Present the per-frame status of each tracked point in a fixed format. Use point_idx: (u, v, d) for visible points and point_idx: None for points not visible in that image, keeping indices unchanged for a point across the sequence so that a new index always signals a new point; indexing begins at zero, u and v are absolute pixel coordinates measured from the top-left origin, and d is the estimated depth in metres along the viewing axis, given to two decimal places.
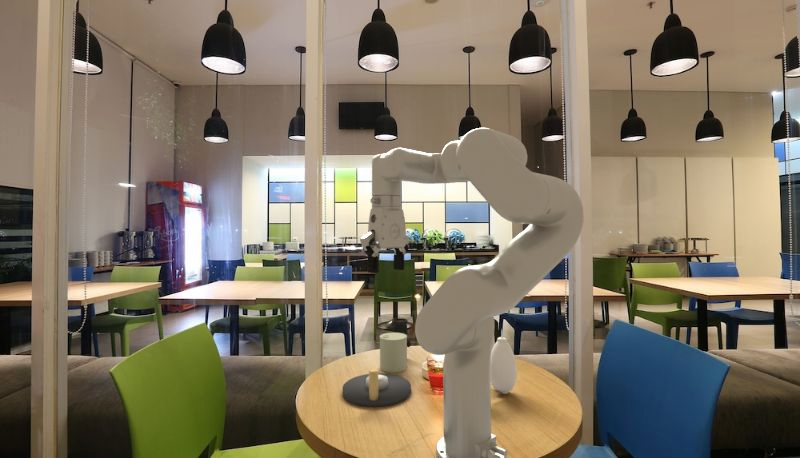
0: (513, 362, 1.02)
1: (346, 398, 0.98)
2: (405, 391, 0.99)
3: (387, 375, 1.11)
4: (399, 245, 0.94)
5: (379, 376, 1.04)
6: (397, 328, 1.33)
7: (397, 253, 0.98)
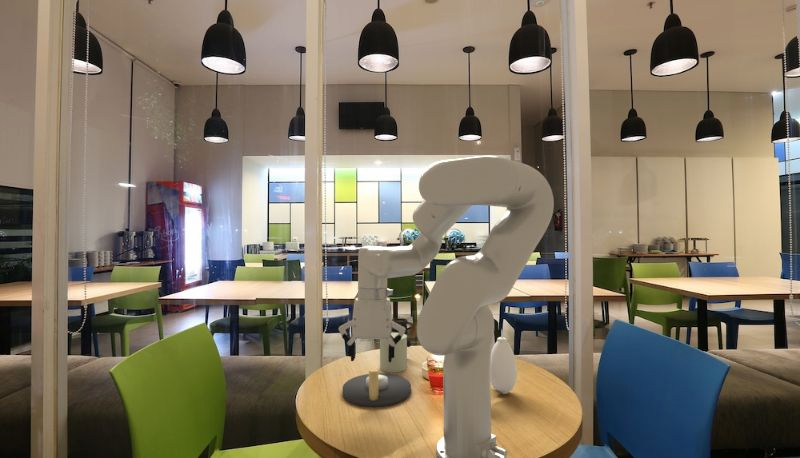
0: (513, 362, 1.02)
1: (346, 398, 0.98)
2: (405, 391, 0.99)
3: (387, 375, 1.11)
4: None
5: (379, 376, 1.04)
6: None
7: (353, 343, 0.96)
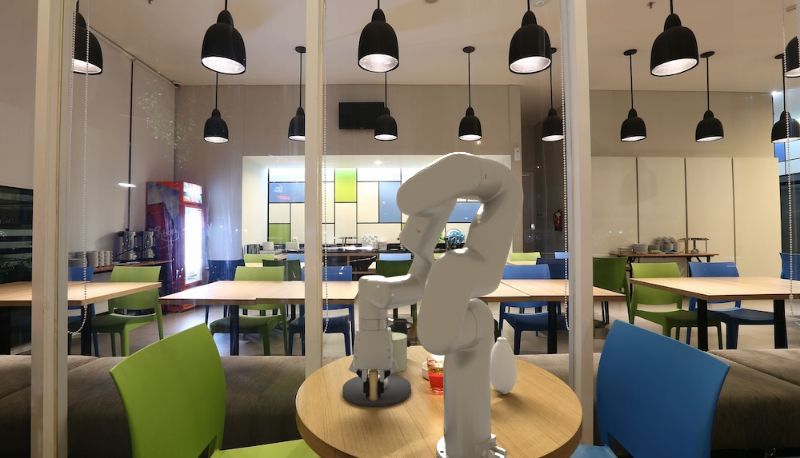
0: (513, 362, 1.02)
1: (346, 398, 0.98)
2: (405, 391, 0.99)
3: None
4: None
5: None
6: (397, 328, 1.33)
7: (368, 379, 0.95)
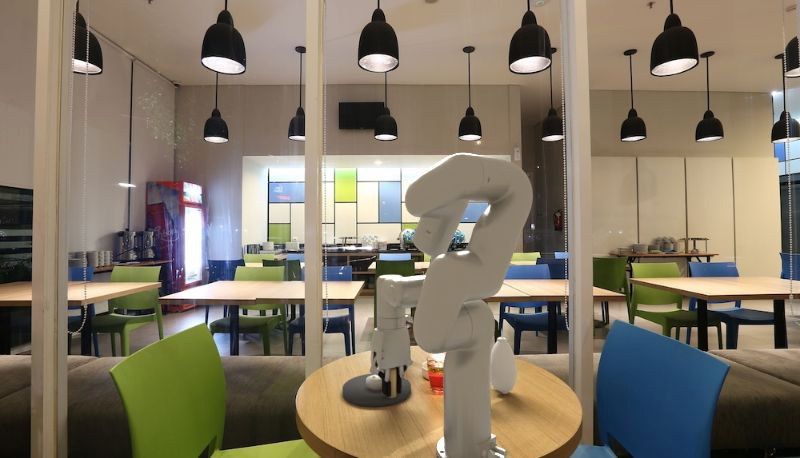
0: (513, 362, 1.02)
1: (362, 404, 0.94)
2: (408, 383, 1.04)
3: (371, 375, 1.11)
4: None
5: (378, 376, 1.04)
6: None
7: None
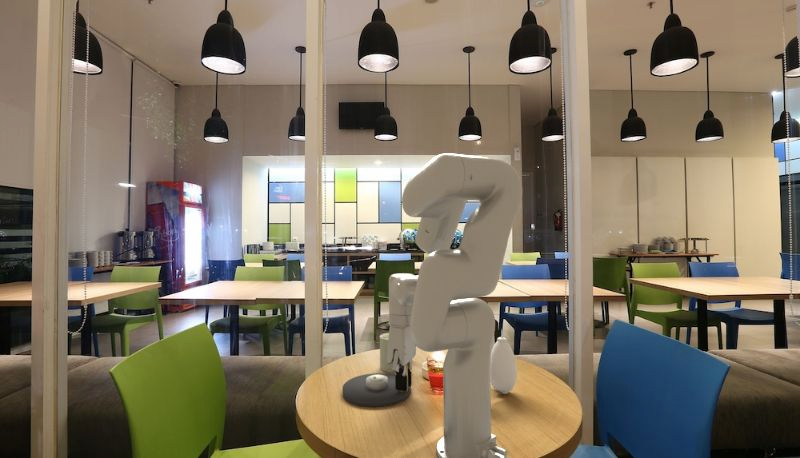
0: (513, 362, 1.02)
1: (384, 404, 0.94)
2: None
3: (356, 378, 1.08)
4: None
5: (376, 376, 1.04)
6: None
7: None
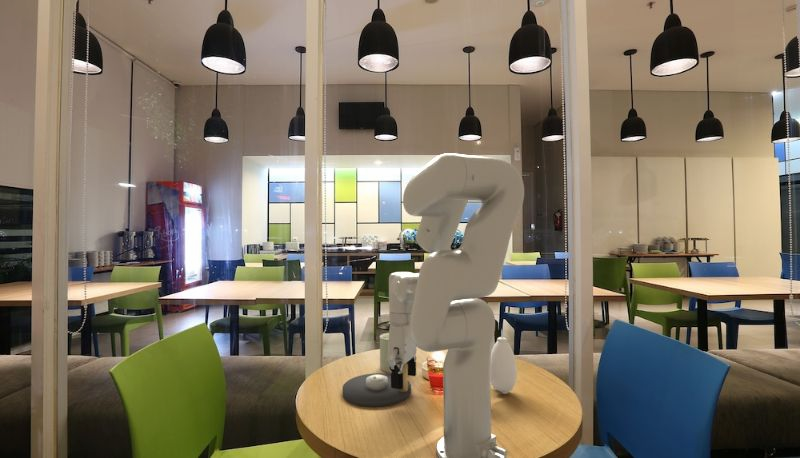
0: (513, 362, 1.02)
1: (384, 404, 0.94)
2: None
3: (356, 378, 1.08)
4: None
5: (376, 376, 1.04)
6: None
7: None
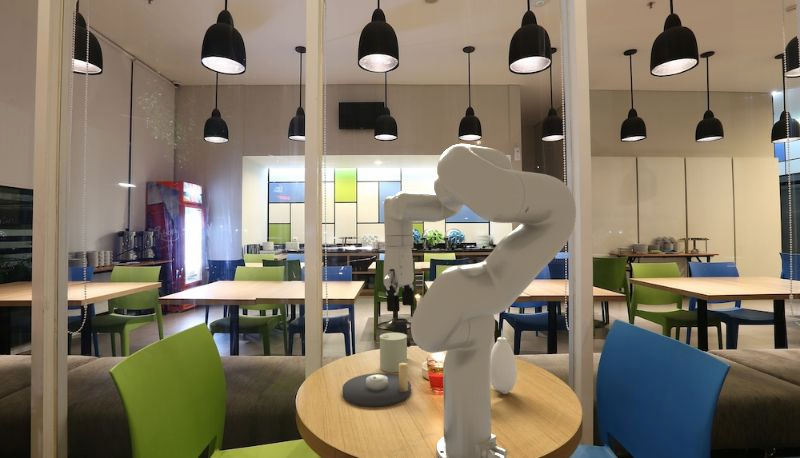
0: (513, 362, 1.02)
1: (384, 404, 0.94)
2: None
3: (356, 378, 1.08)
4: None
5: (376, 376, 1.04)
6: (397, 328, 1.33)
7: None
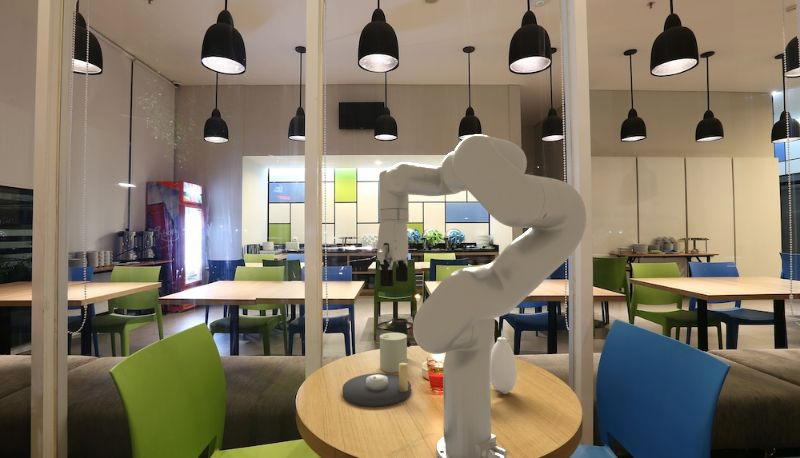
0: (513, 362, 1.02)
1: (384, 404, 0.94)
2: None
3: (356, 378, 1.08)
4: None
5: (376, 376, 1.04)
6: (397, 328, 1.33)
7: None
